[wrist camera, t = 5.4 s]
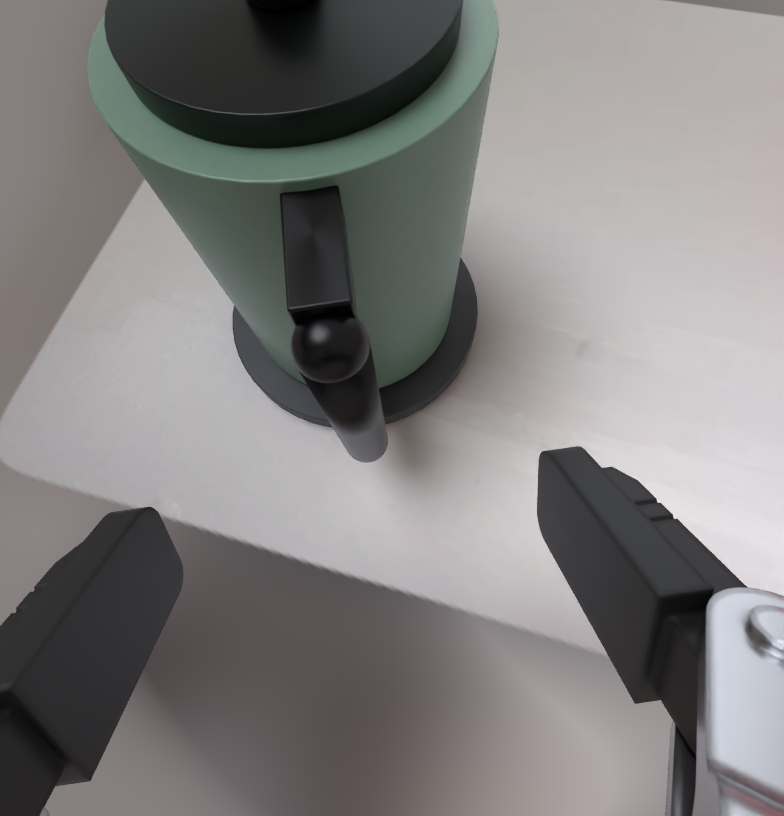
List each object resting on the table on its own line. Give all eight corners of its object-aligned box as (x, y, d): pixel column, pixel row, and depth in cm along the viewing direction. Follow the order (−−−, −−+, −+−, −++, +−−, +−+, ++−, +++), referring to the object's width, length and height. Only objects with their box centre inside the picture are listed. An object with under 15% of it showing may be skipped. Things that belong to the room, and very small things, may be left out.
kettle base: (409, 473, 22) (409, 468, 20) (193, 365, 24) (182, 356, 23) (510, 269, 25) (515, 256, 24) (315, 195, 28) (311, 180, 27)
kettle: (487, 459, 20) (671, 237, 6) (262, 491, 20) (-90, 345, 6) (422, 163, 27) (437, -279, 12) (251, 187, 26) (71, -232, 12)
